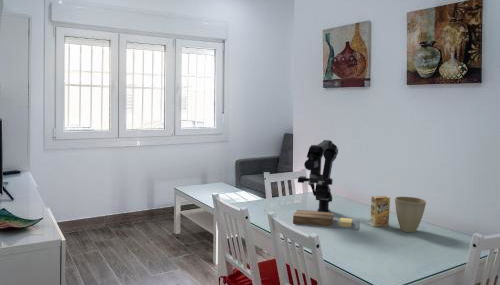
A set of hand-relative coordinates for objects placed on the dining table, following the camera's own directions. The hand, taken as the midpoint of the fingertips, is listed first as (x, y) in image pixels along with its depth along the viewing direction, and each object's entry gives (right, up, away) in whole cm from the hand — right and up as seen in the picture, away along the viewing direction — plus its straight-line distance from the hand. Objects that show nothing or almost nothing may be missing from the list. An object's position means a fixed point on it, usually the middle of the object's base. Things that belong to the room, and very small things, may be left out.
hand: (314, 195), depth 237 cm
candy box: (+32, -14, -12) cm, 37 cm away
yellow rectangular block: (+14, -11, -14) cm, 23 cm away
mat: (+15, -14, -13) cm, 24 cm away
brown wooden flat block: (-2, -13, -9) cm, 16 cm away
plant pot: (+45, -15, -20) cm, 51 cm away
